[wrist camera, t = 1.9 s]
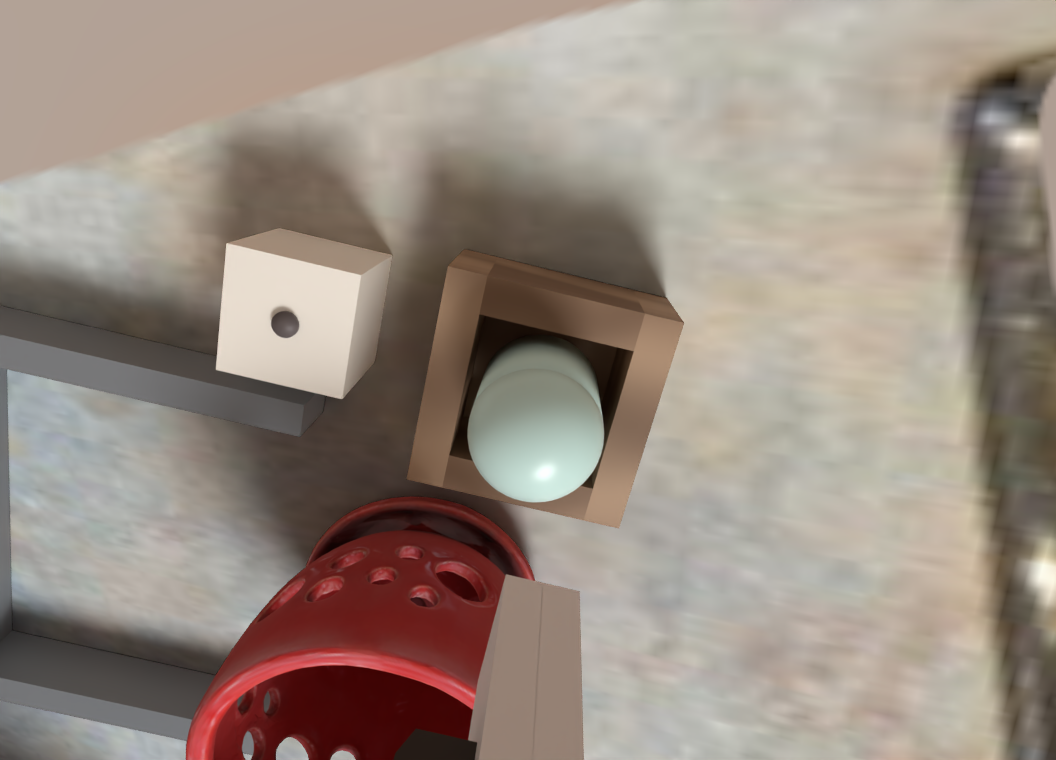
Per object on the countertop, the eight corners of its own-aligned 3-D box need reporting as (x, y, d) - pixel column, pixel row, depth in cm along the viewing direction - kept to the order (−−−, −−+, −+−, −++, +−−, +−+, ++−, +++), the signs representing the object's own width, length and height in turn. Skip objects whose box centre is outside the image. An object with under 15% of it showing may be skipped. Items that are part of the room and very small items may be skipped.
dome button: (581, 454, 29) (586, 543, 23) (471, 428, 29) (445, 510, 23) (611, 349, 28) (626, 412, 21) (495, 322, 28) (474, 376, 21)
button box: (611, 478, 33) (618, 528, 28) (427, 435, 32) (406, 479, 28) (666, 297, 30) (684, 322, 25) (464, 249, 29) (447, 266, 25)
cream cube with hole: (375, 361, 31) (340, 401, 26) (268, 336, 31) (213, 371, 26) (392, 255, 30) (359, 276, 25) (280, 227, 30) (223, 243, 25)
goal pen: (279, 711, 38) (257, 756, 35) (-15, 646, 38) (-62, 687, 35) (327, 382, 32) (304, 405, 29) (-28, 299, 31) (-87, 314, 28)
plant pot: (256, 516, 34) (106, 698, 23) (503, 442, 32) (471, 601, 21) (360, 713, 38) (274, 954, 27) (586, 658, 36) (597, 892, 25)
